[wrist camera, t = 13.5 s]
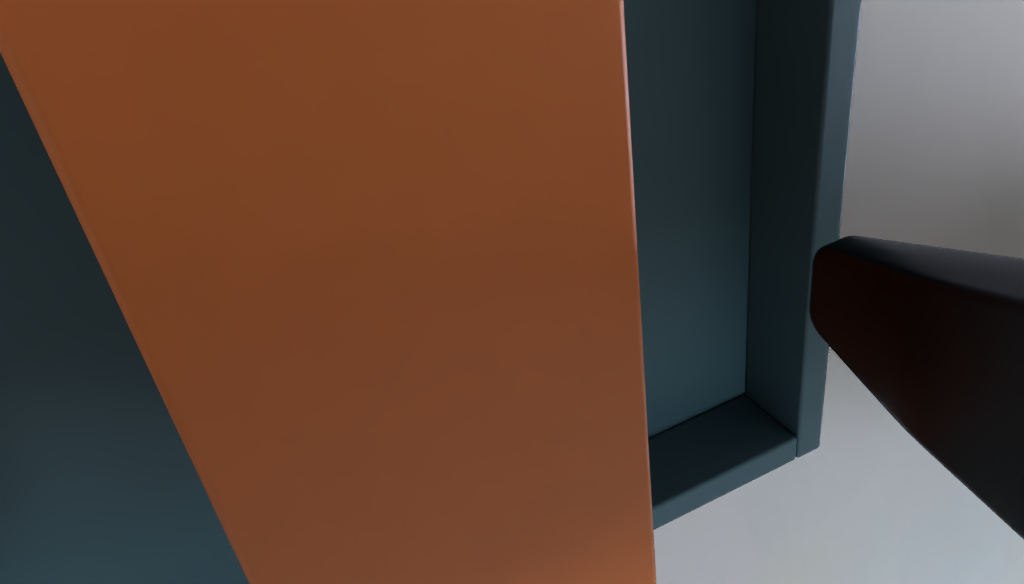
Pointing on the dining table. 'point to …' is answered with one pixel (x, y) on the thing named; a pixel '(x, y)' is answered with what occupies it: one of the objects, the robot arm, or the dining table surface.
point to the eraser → (371, 270)
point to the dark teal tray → (662, 279)
